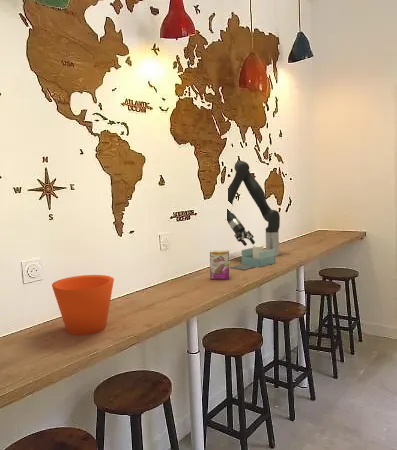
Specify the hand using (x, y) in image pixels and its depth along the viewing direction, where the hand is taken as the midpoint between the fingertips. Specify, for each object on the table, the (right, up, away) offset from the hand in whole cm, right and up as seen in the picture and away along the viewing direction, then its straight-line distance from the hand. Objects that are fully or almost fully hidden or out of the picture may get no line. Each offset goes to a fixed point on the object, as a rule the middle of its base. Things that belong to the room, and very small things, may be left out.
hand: (250, 244), depth 312 cm
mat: (-6, -14, -14) cm, 21 cm away
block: (+5, -13, -3) cm, 14 cm away
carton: (+5, -13, -3) cm, 14 cm away
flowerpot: (-82, -30, -119) cm, 148 cm away
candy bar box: (-22, -18, -41) cm, 50 cm away
